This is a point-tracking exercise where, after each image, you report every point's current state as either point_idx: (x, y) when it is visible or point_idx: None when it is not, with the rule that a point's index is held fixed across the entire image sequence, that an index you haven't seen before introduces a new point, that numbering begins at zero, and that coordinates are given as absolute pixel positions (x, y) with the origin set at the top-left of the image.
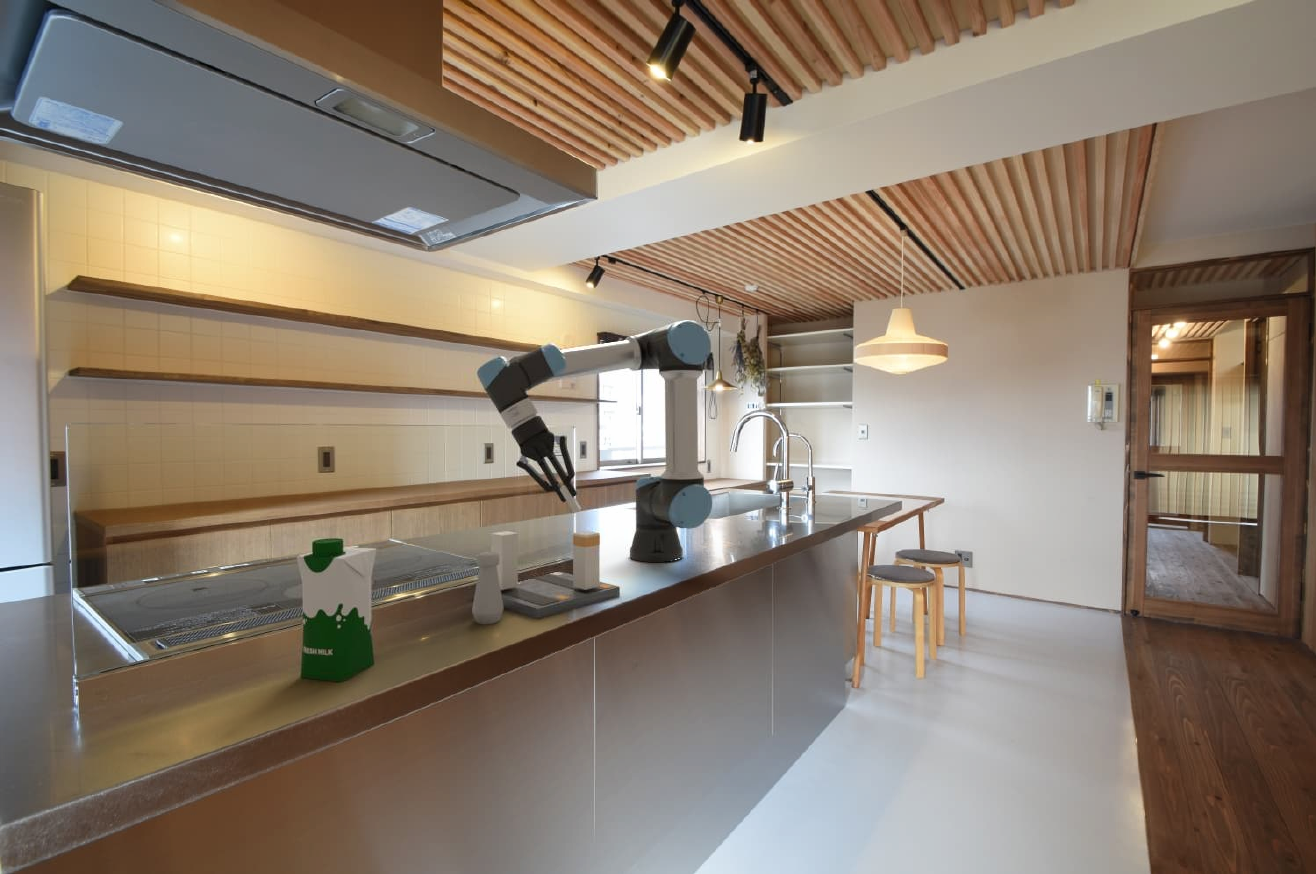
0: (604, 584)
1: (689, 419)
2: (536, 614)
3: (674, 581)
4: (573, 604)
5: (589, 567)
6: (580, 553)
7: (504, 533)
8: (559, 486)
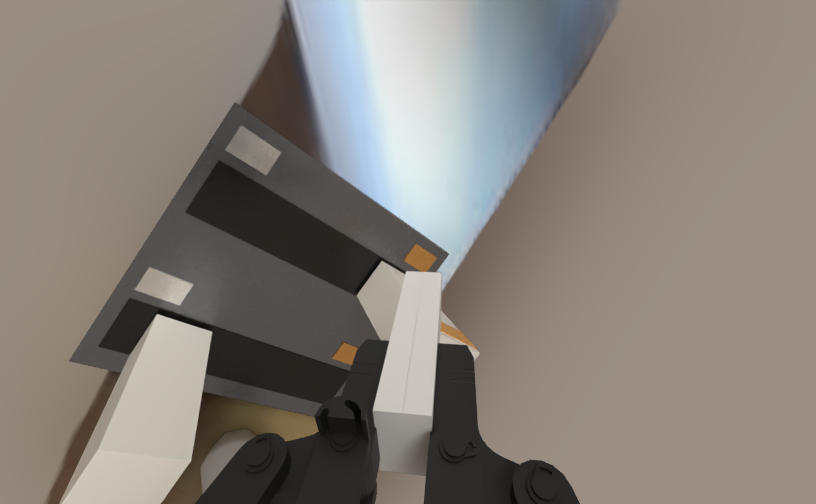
0: (417, 247)
1: None
2: None
3: (546, 110)
4: None
5: None
6: None
7: (128, 488)
8: (375, 462)
